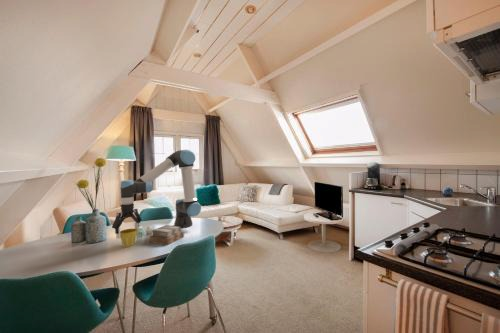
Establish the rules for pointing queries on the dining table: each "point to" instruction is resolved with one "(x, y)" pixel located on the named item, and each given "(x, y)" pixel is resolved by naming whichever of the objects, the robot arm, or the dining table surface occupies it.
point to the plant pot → (128, 237)
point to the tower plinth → (166, 240)
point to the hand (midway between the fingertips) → (127, 235)
